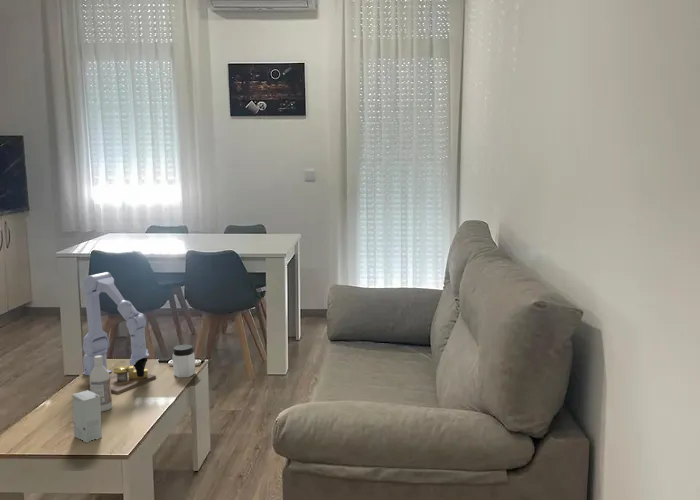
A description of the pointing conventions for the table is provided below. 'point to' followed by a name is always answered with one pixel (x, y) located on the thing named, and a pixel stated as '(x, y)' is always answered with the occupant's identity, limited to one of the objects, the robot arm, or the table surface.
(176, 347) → the jar
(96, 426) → the skincare box
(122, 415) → the table surface
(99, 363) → the bath foam
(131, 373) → the door handle
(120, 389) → the base
